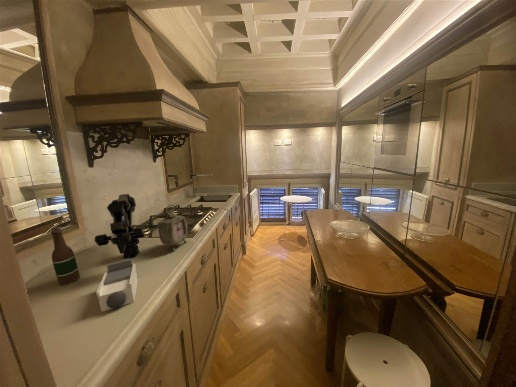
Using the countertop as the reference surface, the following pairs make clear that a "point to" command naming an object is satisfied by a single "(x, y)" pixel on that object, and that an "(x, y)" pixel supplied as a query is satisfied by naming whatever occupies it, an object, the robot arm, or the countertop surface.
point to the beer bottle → (63, 260)
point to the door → (119, 271)
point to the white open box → (117, 292)
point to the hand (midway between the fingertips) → (121, 253)
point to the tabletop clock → (173, 229)
